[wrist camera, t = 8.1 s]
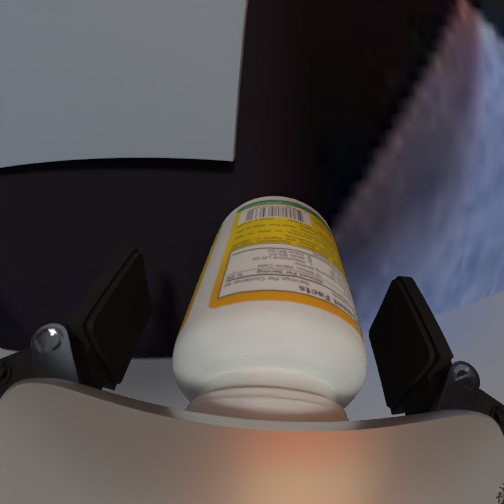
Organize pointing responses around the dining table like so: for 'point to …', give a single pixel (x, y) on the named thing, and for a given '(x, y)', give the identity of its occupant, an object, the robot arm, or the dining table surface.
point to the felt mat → (119, 79)
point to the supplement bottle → (271, 321)
